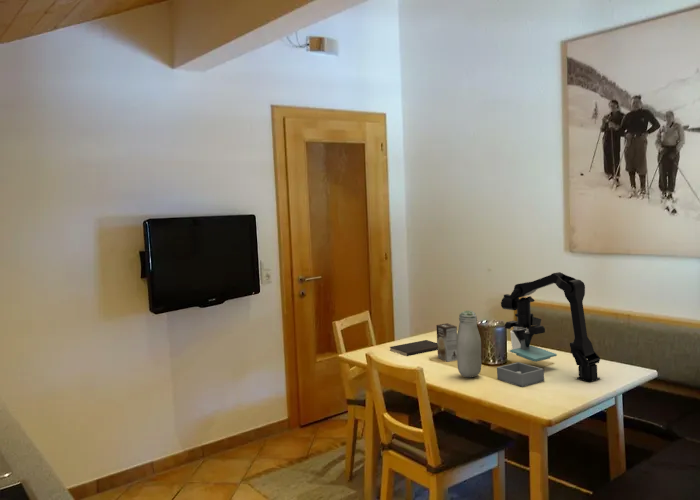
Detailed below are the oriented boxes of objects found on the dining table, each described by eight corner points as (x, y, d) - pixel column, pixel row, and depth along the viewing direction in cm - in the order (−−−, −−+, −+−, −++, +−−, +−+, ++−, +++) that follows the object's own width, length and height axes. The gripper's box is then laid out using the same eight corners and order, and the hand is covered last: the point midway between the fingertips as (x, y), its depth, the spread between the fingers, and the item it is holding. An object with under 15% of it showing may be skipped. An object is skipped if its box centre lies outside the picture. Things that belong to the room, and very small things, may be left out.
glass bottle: (464, 381, 250) (461, 314, 248) (454, 375, 260) (451, 310, 258) (486, 378, 252) (483, 311, 250) (475, 372, 262) (472, 308, 260)
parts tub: (544, 381, 244) (543, 369, 243) (522, 387, 238) (521, 374, 237) (518, 373, 256) (518, 362, 255) (497, 379, 250) (496, 367, 250)
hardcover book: (389, 351, 310) (389, 346, 310) (426, 344, 321) (426, 339, 321) (407, 357, 296) (407, 352, 296) (445, 349, 307) (444, 345, 307)
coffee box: (437, 357, 290) (435, 324, 289) (448, 355, 292) (447, 323, 291) (447, 362, 281) (445, 327, 280) (459, 360, 283) (457, 326, 282)
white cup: (509, 353, 291) (508, 332, 290) (513, 349, 298) (512, 329, 297) (526, 354, 287) (525, 333, 286) (529, 350, 294) (528, 329, 293)
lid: (556, 358, 260) (556, 344, 259) (535, 363, 254) (535, 349, 253) (531, 349, 272) (531, 336, 271) (510, 354, 266) (510, 341, 265)
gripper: (553, 311, 261) (554, 347, 262) (521, 306, 277) (523, 340, 279) (534, 315, 256) (536, 351, 257) (503, 309, 272) (504, 344, 273)
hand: (525, 346), depth 267 cm, fingers closed on lid, 2 cm apart
